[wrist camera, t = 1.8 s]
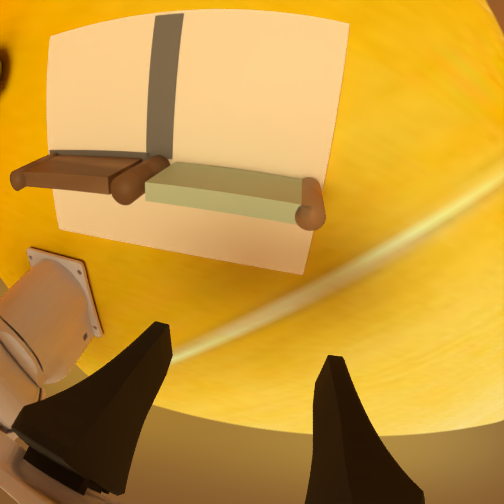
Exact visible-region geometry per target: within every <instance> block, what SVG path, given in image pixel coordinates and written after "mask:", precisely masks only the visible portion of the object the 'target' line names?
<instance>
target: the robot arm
mask: <svg viewBox="0 0 504 504" xmlns="http://www.w3.org/2000/svg"><path fill="white" fill-rule="evenodd" d="M27 255H28V258H29V262H30V265H31V269H30V270H29V271H28V272H27V273H26V274H25V275H23V276H22V277H21V278H20V279H19V280H18V281H17V282H16V283H15V284H14V285H13V286H12V287H11V288H10V289H9V290H8V291H7V292H6V293H5V294H4V295H3V296H2V297H1V298H0V487H1V488H2V489H3V490H4V491H5V492H6V493H7V494H9V495H10V496H11V497H12V498H13V499H14V500H16V501H17V502H18V503H19V504H122V503H120V502H117V501H115V500H113V499H111V498H108V497H106V496H104V495H101V491H102V492H104V493H106V494H109V492H110V493H112V494H115V495H121V494H124V493H125V487H126V483H127V478H128V474H129V470H130V466H131V462H132V458H133V455H134V451H135V448H136V444H137V441H138V438H139V435H140V432H141V429H142V426H143V423H144V421H145V418H146V416H147V414H148V411H149V410H150V407H151V405H152V403H153V401H154V399H155V397H156V395H157V393H158V391H159V389H160V387H161V385H162V383H163V381H164V378H165V376H166V374H167V371H168V368H169V365H170V362H171V359H172V356H173V354H172V346H171V338H170V329H169V325H168V324H164V323H161V322H157V321H155V322H154V323H153V324H152V325H151V326H150V327H148V328H147V329H146V330H145V331H144V332H143V333H142V334H141V335H140V336H139V337H138V338H137V339H136V340H135V341H134V342H132V343H131V344H130V345H129V346H128V347H127V348H126V349H124V350H123V351H122V352H121V353H120V354H119V355H117V356H116V357H115V358H114V359H112V360H111V361H110V362H109V363H107V364H106V365H105V366H103V367H102V368H101V369H99V370H98V371H96V372H95V373H94V374H92V375H90V376H89V377H87V378H86V379H84V380H82V381H81V382H79V383H77V384H76V385H74V386H72V387H70V388H68V389H66V390H64V391H62V392H60V393H58V394H56V395H53V396H51V397H49V398H46V392H45V389H44V387H43V384H52V383H55V382H58V381H60V380H62V379H63V378H64V377H65V376H67V374H68V373H69V372H70V371H71V369H72V368H73V366H74V365H75V363H76V362H77V360H78V359H79V357H80V356H81V354H82V353H83V351H84V350H85V348H86V347H87V345H88V344H89V342H90V341H91V339H92V338H93V337H94V336H96V337H102V335H103V333H102V329H101V326H100V323H99V320H98V316H97V313H96V309H95V306H94V302H93V298H92V295H91V291H90V287H89V283H88V279H87V275H86V270H85V266H84V264H83V263H82V262H81V261H79V260H75V259H71V258H67V257H63V256H60V255H56V254H52V253H49V252H45V251H41V250H38V249H34V248H31V247H29V248H28V249H27ZM18 437H20V438H21V439H22V440H23V441H24V442H25V443H26V444H27V445H29V447H28V449H27V451H26V450H25V449H24V448H23V447H21V446H20V445H19V444H18V443H16V442H15V441H14V440H15V439H16V438H18ZM305 504H425V499H424V493H423V491H422V490H421V489H420V488H419V487H418V486H417V485H416V484H415V483H414V482H413V481H412V480H411V479H410V478H409V477H408V475H407V474H406V473H405V472H404V471H403V470H402V469H401V467H400V466H399V465H398V463H397V462H396V461H395V460H394V458H393V457H392V456H391V454H390V453H389V452H388V450H387V449H386V447H385V446H384V444H383V442H382V441H381V440H380V438H379V436H378V434H377V433H376V431H375V429H374V428H373V426H372V424H371V422H370V420H369V418H368V416H367V414H366V412H365V410H364V408H363V406H362V404H361V401H360V399H359V397H358V394H357V392H356V390H355V387H354V385H353V382H352V380H351V377H350V374H349V372H348V369H347V366H346V363H345V360H344V358H343V357H341V356H333V355H328V356H327V359H326V361H325V363H324V365H323V367H322V370H321V372H320V374H319V376H318V378H317V380H316V382H315V390H314V399H313V456H312V465H311V472H310V478H309V485H308V490H307V495H306V501H305Z"/></svg>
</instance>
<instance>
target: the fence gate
mask: <svg viewBox="0 0 504 504" xmlns="http://www.w3.org/2000/svg"><path fill="white" fill-rule="evenodd" d="M145 201H149V202H156V203H163V204H170V205H177V206H184V207H191V208H198V209H204V210H211V211H218V212H224V213H230V214H236V215H243V216H249V217H255V218H261V219H267V220H273V221H278V222H284V223H290V224H295V225H298V226H299V227H300V228H302V229H304V230H307V231H314V230H317V229H319V228H320V227H321V226H322V225H323V224H324V222H325V219H326V215H325V208H324V202H323V196H322V191H321V186H320V183H319V182H318V181H317V180H316V179H314V178H310V177H307V178H303V179H297V178H292V177H286V176H280V175H274V174H267V173H261V172H254V171H247V170H240V169H233V168H225V167H217V166H209V165H201V164H191V163H182V162H175V163H173V164H172V165H170V166H168V167H167V168H165V169H164V170H162V171H161V172H159V173H158V174H156V175H155V176H153V177H152V178H150V179H149V180H147V181H146V182H145Z"/></svg>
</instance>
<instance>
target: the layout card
mask: <svg viewBox="0 0 504 504" xmlns="http://www.w3.org/2000/svg"><path fill="white" fill-rule="evenodd" d="M348 33H349V23H344V22H340V21H335V20H330V19H324V18H319V17H313V16H306V15H299V14H292V13H283V12H273V11H260V10H241V9H203V10H183V11H171V12H161V13H152V14H145V15H138V16H131V17H126V18H120V19H115V20H110V21H105V22H101V23H96V24H92V25H88V26H84V27H80V28H77V29H73V30H70V31H66V32H63V33H60V34H57V35H54V36H51V37H50V43H49V54H48V68H47V136H48V151H49V154H52V153H57V154H59V155H83V156H109V157H128V158H142V162H144V161H145V160H147V159H149V158H151V157H153V156H155V155H161V156H163V157H165V158H166V159H168V161H169V162H170V165H172V164H173V163H175V162H182V163H191V164H201V165H209V166H217V167H225V168H233V169H240V170H247V171H254V172H261V173H267V174H274V175H280V176H286V177H292V178H297V179H303V178H307V177H310V178H314V179H316V180H317V181H318V182H319V183H320V186H321V191H322V190H323V185H324V180H325V175H326V170H327V165H328V160H329V154H330V149H331V144H332V138H333V133H334V127H335V121H336V115H337V109H338V103H339V97H340V91H341V84H342V78H343V71H344V64H345V56H346V49H347V41H348ZM53 195H54V202H55V208H56V214H57V220H58V225H59V229H61V230H65V231H70V232H75V233H80V234H85V235H90V236H95V237H100V238H105V239H110V240H115V241H120V242H126V243H131V244H136V245H141V246H146V247H151V248H157V249H162V250H167V251H172V252H178V253H183V254H188V255H194V256H199V257H204V258H210V259H215V260H221V261H226V262H232V263H237V264H243V265H248V266H254V267H259V268H265V269H271V270H276V271H282V272H288V273H293V274H299V275H303V273H304V269H305V265H306V261H307V257H308V253H309V249H310V244H311V240H312V236H313V231H307V230H304V229H302V228H300V227H299V226H298V225H295V224H290V223H284V222H278V221H273V220H267V219H261V218H255V217H249V216H243V215H236V214H230V213H224V212H218V211H211V210H204V209H198V208H191V207H184V206H177V205H170V204H163V203H156V202H149V201H145V193H144V194H143V195H142V196H141V197H139V198H138V199H137V200H135V201H134V202H133V203H132V204H130V205H121V204H119V203H117V202H116V201H115V200H114V198H113V197H112V194H110V195H106V194H98V193H89V192H80V191H71V190H61V189H53Z"/></svg>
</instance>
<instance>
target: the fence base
mask: <svg viewBox="0 0 504 504" xmlns="http://www.w3.org/2000/svg"><path fill="white" fill-rule="evenodd" d="M168 166H170V162H169V161H168V159H166V158H165V157H163V156H161V155H155V156H153V157H151V158H149V159H147V160H145V161H144V162H142V158H128V157H109V156H83V155H59V154H57V153H52V154H49V155H47V156H45V157H42V158H40V159H38V160H36V161H33V162H31V163H29V164H27V165H25V166H23V167H21V168H19V169H16V170H14V171H12V172H11V175H10V182H11V185H12V187H13V188H14V189H15V190H16V191H19V190H20V189H22V188H24V187H26V186H29V187H40V188H51V189H61V190H71V191H80V192H89V193H98V194H106V195H110V194H112V197H113V198H114V200H115V201H116V202H117V203H119V204H121V205H130V204H132V203H133V202H134V201H135V200H137V199H138V198H139V197H141V196H142V195H143V194H144V193H145V182H146V181H147V180H149V179H150V178H152V177H153V176H155V175H156V174H158V173H159V172H161V171H162V170H164V169H165V168H167V167H168Z"/></svg>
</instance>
